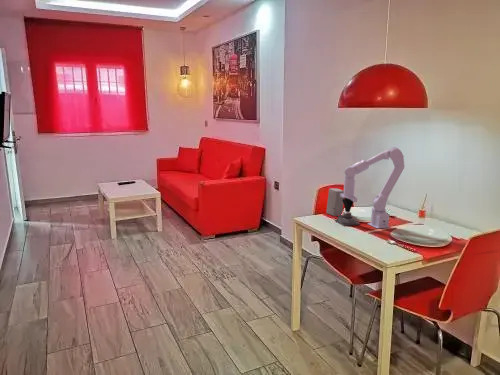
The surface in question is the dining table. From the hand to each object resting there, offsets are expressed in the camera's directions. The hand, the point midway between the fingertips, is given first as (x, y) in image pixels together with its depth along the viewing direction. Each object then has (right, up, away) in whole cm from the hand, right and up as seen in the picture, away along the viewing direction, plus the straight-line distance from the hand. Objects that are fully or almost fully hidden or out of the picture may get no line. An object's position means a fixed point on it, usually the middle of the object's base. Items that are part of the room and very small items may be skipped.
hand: (347, 211), depth 219 cm
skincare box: (-3, -3, +20) cm, 20 cm away
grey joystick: (0, -7, +1) cm, 7 cm away
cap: (0, -6, +1) cm, 6 cm away
